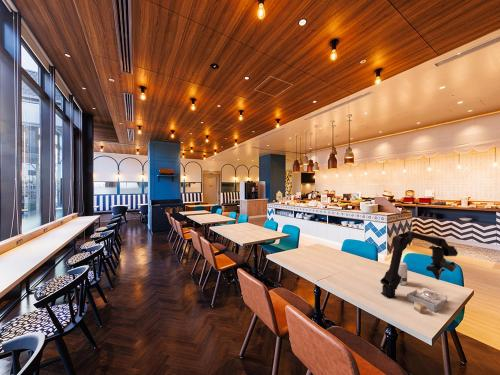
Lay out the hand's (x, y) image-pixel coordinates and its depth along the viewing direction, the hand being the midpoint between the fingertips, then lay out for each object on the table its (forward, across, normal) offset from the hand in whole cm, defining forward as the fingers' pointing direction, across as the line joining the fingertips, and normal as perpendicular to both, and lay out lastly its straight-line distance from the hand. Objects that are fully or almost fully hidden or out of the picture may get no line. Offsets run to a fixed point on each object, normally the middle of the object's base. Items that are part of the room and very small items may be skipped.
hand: (437, 279), depth 135 cm
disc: (+9, -10, 0) cm, 13 cm away
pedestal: (+11, -30, -2) cm, 32 cm away
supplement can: (+11, -2, +21) cm, 24 cm away
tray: (+10, -10, 0) cm, 14 cm away
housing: (+11, -18, 0) cm, 21 cm away
